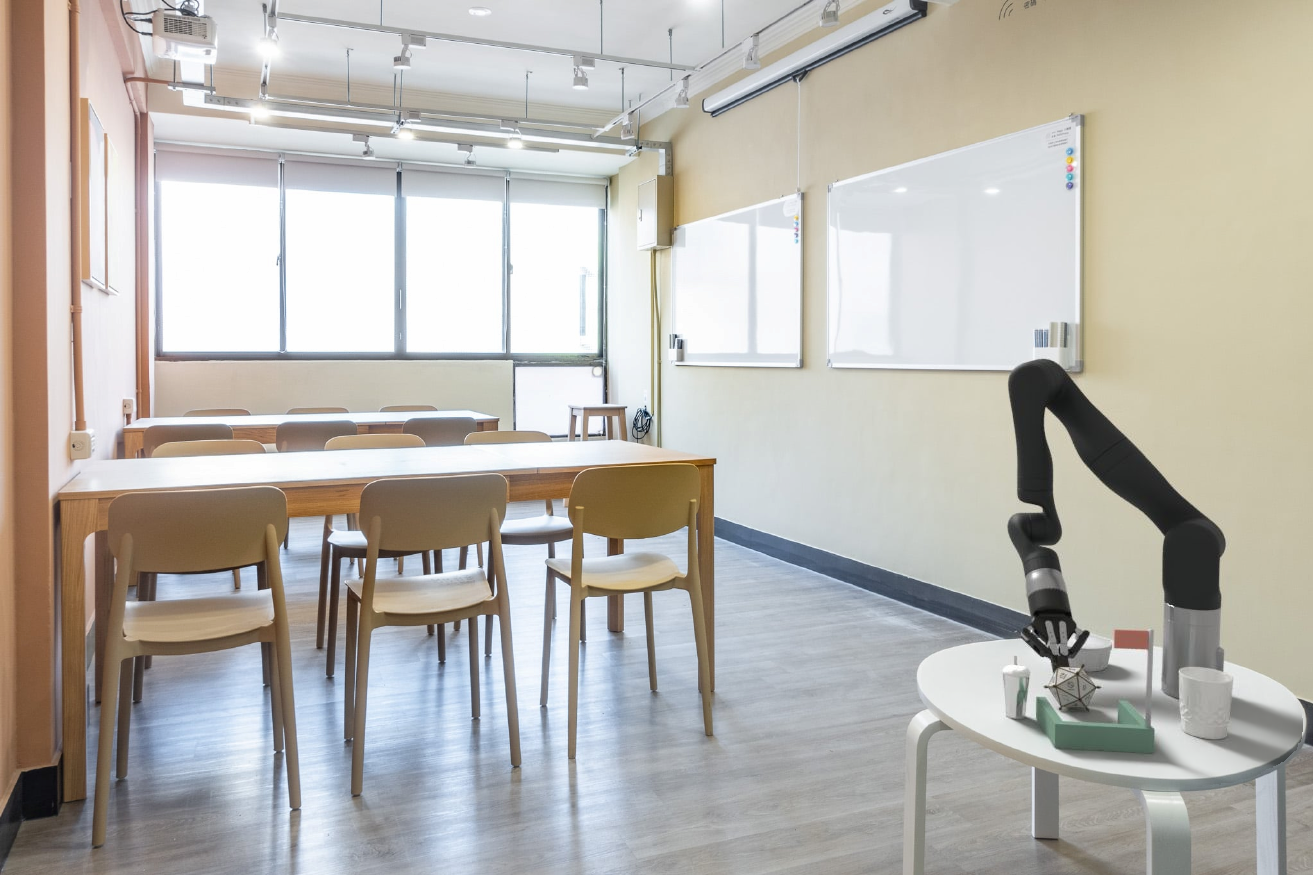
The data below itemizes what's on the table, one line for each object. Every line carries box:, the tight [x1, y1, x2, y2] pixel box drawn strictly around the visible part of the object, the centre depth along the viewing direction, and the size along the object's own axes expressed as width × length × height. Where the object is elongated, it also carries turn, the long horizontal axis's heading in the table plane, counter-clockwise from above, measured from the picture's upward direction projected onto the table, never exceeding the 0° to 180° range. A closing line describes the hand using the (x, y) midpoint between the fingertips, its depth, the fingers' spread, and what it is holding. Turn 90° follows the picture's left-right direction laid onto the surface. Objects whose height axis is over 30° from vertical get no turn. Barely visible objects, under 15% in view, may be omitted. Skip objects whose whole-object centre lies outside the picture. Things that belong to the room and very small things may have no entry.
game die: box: [1043, 663, 1102, 712], centre depth 163 cm, size 9×8×10 cm
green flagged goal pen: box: [1035, 628, 1156, 755], centre depth 150 cm, size 15×12×20 cm
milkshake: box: [1002, 655, 1031, 720], centre depth 160 cm, size 4×5×10 cm
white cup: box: [1178, 667, 1234, 740], centre depth 152 cm, size 8×8×10 cm
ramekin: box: [1056, 633, 1113, 673], centre depth 187 cm, size 11×11×5 cm
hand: (1062, 676), depth 169 cm, fingers closed
